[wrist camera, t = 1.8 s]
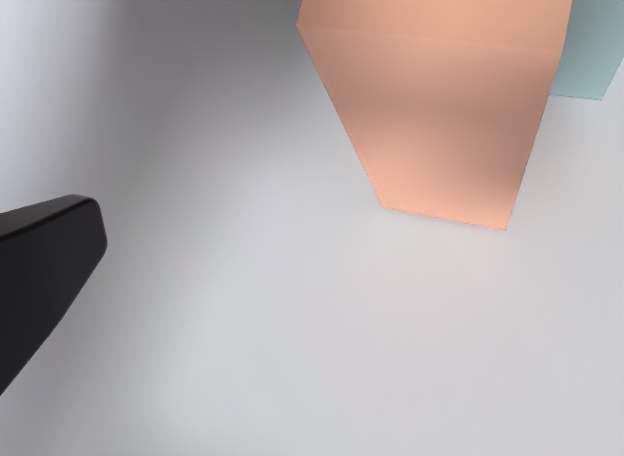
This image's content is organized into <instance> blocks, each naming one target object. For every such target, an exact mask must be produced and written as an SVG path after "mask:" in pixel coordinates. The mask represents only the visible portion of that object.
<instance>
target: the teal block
mask: <svg viewBox="0 0 624 456" xmlns="http://www.w3.org/2000/svg"><path fill="white" fill-rule="evenodd" d="M623 57H624V0H572V5H571V10H570V15H569V20H568V26H567V31H566V36H565V41H564V46H563V51H562V55H561V58H560V61H559V64H558V67H557V70H556V74H555V77H554V80H553V83H552V86H551V89H550V93H549V94H555V95H563V96H572V97H580V98H588V99H596V100H602V98H603V96H604V94H605V92H606V90H607V88H608V86H609V84H610V82H611V80H612V78H613V76H614V74H615V72H616V71H617V69H618V67H619V65H620V63H621V61H622V59H623Z"/></svg>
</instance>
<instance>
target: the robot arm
mask: <svg viewBox="0 0 624 456" xmlns="http://www.w3.org/2000/svg"><path fill="white" fill-rule="evenodd" d="M106 248H107V236H106V232H105V227H104V223H103V218H102V214H101V209H100V206H99V204H98V203H97V201H96V200H94V199H93V198H89V197H85V196H80V195H67V196H63V197H60V198H56V199H52V200H49V201H45V202H41V203H37V204H34V205H30V206H26V207H22V208H19V209H15V210H11V211H8V212H4V213H0V396H1V395H2V393H3V392H4V391H5V390H6V389H7V387H8V386H9V385H10V384H11V382H12V381H13V380H14V379H15V377H16V376H17V375H18V374H19V372H20V371H21V370H22V369H23V367H24V366H25V365H26V364H27V363H28V361H29V360H30V359H31V358H32V356H33V355H34V354H35V353H36V351H37V350H38V349H39V348H40V346H41V345H42V344H43V343H44V342H45V340H46V339H47V338H48V337H49V335H50V334H51V333H52V331H53V330H54V329H55V327H56V326H57V325H58V323H59V322H60V321H61V319H62V318H63V316H64V315H65V313H66V312H67V310H68V309H69V307H70V306H71V304H72V303H73V301H74V300H75V298H76V297H77V295H78V294H79V292H80V291H81V289H82V288H83V286H84V284H85V283H86V281H87V280H88V278H89V277H90V275H91V274H92V272H93V271H94V269H95V268H96V266H97V265H98V263H99V262H100V260H101V259H102V257H103V255H104V254H105V251H106Z"/></svg>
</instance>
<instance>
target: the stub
mask: <svg viewBox="0 0 624 456" xmlns="http://www.w3.org/2000/svg"><path fill="white" fill-rule="evenodd" d="M571 5H572V0H302V3H301V7H300V10H299V14H298V17H297V21H296V27H297V29H298V31H299V33H300V35H301V37H302V39H303V41H304V44H305V46H306V48H307V50H308V52H309V54H310V56H311V58H312V60H313V62H314V65H315V67H316V69H317V71H318V73H319V75H320V77H321V79H322V81H323V84H324V86H325V88H326V90H327V92H328V94H329V96H330V98H331V100H332V103H333V105H334V107H335V109H336V111H337V113H338V115H339V117H340V119H341V122H342V124H343V126H344V128H345V130H346V132H347V134H348V136H349V138H350V140H351V143H352V145H353V147H354V149H355V151H356V153H357V155H358V157H359V159H360V162H361V164H362V166H363V168H364V170H365V172H366V174H367V176H368V178H369V181H370V183H371V185H372V187H373V189H374V191H375V193H376V195H377V197H378V200H379V202H380V204H381V206H382V207H384V208H389V209H394V210H400V211H405V212H410V213H416V214H421V215H426V216H432V217H437V218H442V219H448V220H453V221H458V222H464V223H469V224H474V225H480V226H485V227H491V228H496V229H501V230H506V229H507V225H508V222H509V219H510V216H511V213H512V210H513V206H514V203H515V200H516V197H517V194H518V191H519V187H520V184H521V181H522V178H523V175H524V172H525V168H526V165H527V162H528V159H529V156H530V153H531V150H532V146H533V143H534V140H535V137H536V134H537V131H538V127H539V124H540V121H541V118H542V115H543V112H544V108H545V105H546V102H547V99H548V96H549V93H550V89H551V86H552V83H553V80H554V77H555V74H556V70H557V67H558V64H559V61H560V58H561V55H562V51H563V46H564V41H565V36H566V31H567V26H568V20H569V15H570V10H571Z"/></svg>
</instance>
